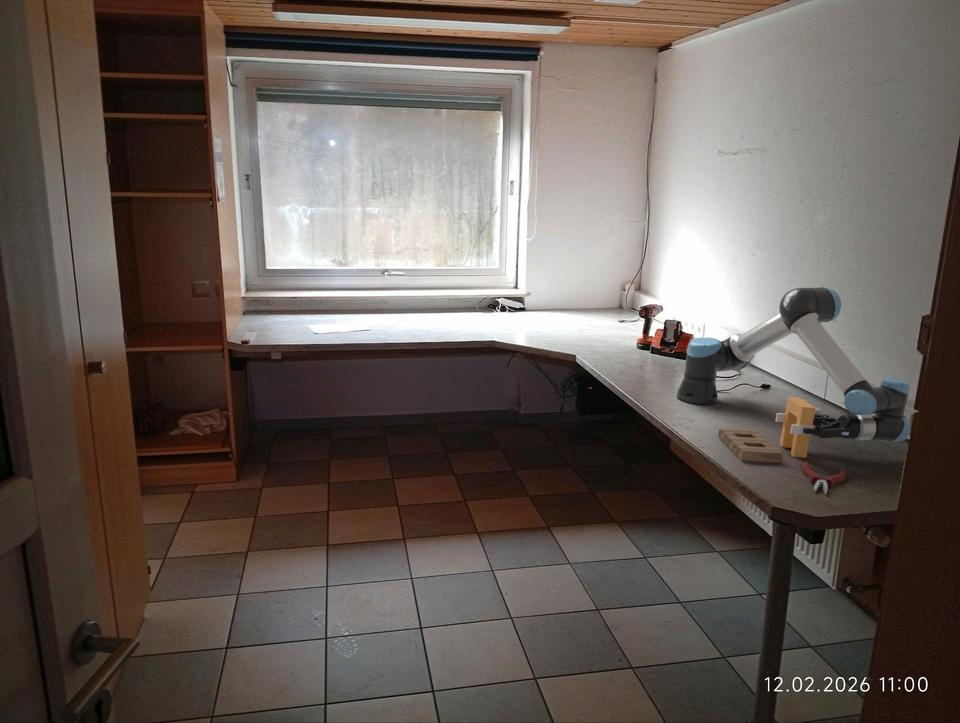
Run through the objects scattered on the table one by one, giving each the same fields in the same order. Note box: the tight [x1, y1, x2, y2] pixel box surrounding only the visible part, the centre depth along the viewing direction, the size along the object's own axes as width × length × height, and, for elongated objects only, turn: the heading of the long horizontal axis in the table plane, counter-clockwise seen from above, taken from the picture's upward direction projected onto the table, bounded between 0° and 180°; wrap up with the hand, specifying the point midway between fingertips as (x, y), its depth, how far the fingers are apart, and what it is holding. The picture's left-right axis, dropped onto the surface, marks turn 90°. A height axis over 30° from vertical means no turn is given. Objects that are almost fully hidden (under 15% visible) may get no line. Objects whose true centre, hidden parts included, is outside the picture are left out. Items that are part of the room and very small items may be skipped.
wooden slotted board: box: [717, 427, 783, 464], centre depth 214 cm, size 20×12×3 cm, turn 0°
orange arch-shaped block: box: [779, 396, 817, 459], centre depth 212 cm, size 10×4×16 cm, turn 0°
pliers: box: [801, 461, 846, 495], centre depth 191 cm, size 12×20×3 cm, turn 152°
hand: (783, 423), depth 212 cm, fingers closed on orange arch-shaped block, 10 cm apart
